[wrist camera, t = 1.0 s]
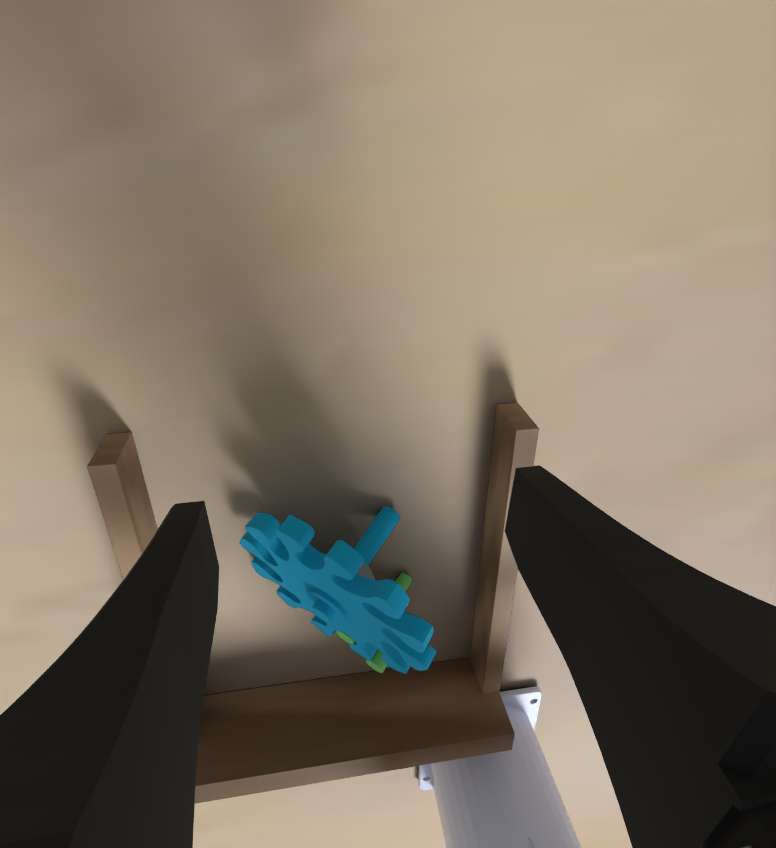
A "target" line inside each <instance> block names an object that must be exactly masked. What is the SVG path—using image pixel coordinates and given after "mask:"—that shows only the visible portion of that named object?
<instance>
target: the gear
mask: <svg viewBox="0 0 776 848" xmlns="http://www.w3.org/2000/svg"><path fill="white" fill-rule="evenodd" d="M399 520H400V516H399V515H398V513H397V512H396V511H395V510H393V509H392V508H390V507H383V508H382V509H381V511H380V512H379V513H378V515H377V516H376V518H375V519H374V520H373V522H372V523H371V525H370V526H369V527H368V529H367V530H366V532H365V533H364V534H363V536H362V537H361V539H360V540H359V541H358V543H357V544H356V546H355V547H354V548H352V547H351V546H350V545H348V544H347V543H346V542H344V541H343V540H337V541H336V543H335V544H334V545H333V547H332V548H331V549H330V551H329V552H328V553H327V554H324V553H321V552H319V551H317V550H316V549H315V548H314V547H312V546H311V544H310V543H309V542H310V541H311V540H312V539H313V537H314V536H315V531H314V529H313V528H312V527H311V526H310V525H309V524H307V523H305V522H304V521H302V520H300V519H298V518H296V517H294V516H292V515H289V516H288V517H287V518H286V520H285V521H284V522H283V523H282V524H281V525H280V523H279V522H278V520H277V519H276V518H275V517H273V516H272V515H270V514H267V513H262V512H257V514H256V515H255V516H254V517H253V518H252V519H251V520H250V522H249V523H248V524H247V525H246V526H245V528H246V530H247V531H248V532H247V533H246V534H245V535H244V537H243V538H242V539H241V540H240V544H241V546H242V547H244V548H245V549H246V550H247V551H248V552H250V553H252V554H253V555H255V556H256V557H255V558H254V559H253V561H252V566H253V568H254V569H255V571H256V572H257V573H258V574H260V575H261V576H263V577H264V578H266V579H269V580H272V581H274V582H276V583H277V584H279V585H281V586H280V587H279V589H278V590H277V591H276V592H277V593H278V595H279V596H280V597H281V598H282V599H283V600H284V601H285V602H286V603H287V604H288V605H289V606H291V607H293V608H297V607H300V608H303V609H306V610H308V611H310V612H312V613H314V614H315V616H314V618H313V619H312V621H311V622H312V623H313V624H314V625H315V626H316V627H317V628H318V629H319V630H321V631H322V632H323V633H324V634H326V635H327V636H329V637H332V636H333V634H334V633H335V631H336V633H337V635H338V636H339V637H340V638H342V639H343V640H344V641H346V642H348V643H349V647H350V648H351V649H352V650H353V651H354V652H356V653H357V654H359V655H361V656H362V657H364V658H366V660H365V661H366V663H367V664H368V665H369V666H370V667H371V668H372V669H374V670H375V671H377V672H379V673H383V672H384V670H385V668H386V667H387V666H389V667H390V668H392V669H394V670H397V671H399V672H402V673H405V674H406V673H407V671H408V669H409V668H410V666H411V667H412V668H414V669H416V670H420V671H423V670H427V669H428V667H429V666H430V664H431V662H432V660H433V658H434V656H435V654H436V651H435V650H434V649H433V648H432V647H431V646H430V645H429V644H428V642H429V641H430V639H431V637H432V635H433V633H434V630H433V626H432V625H431V624H430V623H429V622H427V621H426V620H424V619H422V618H420V617H417V616H414V615H411V614H409V613H407V612H405V611H404V610H405V609H406V607H407V605H408V604H409V602H410V599H409V597H408V595H407V594H406V590H407V588H408V587H409V585H410V584H411V582H412V578H411V577H410V576H409V575H407V574H405V573H400V575H399V577H398V578H397V580H396V581H393V580H390V579H383V580H376V579H375V577H374V575H373V573H372V572H371V570H370V568H369V566H368V565H369V564H370V562H371V561H372V559H373V558H374V556H375V555H376V553H377V552H378V551H379V549H380V548H381V546H382V545H383V543H384V542H385V540H386V539H387V537H388V536H389V534H390V533H391V531H392V530H393V528H394V527H395V526H396V524H397V523H398V521H399Z"/></svg>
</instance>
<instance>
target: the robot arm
mask: <svg viewBox="0 0 776 848" xmlns="http://www.w3.org/2000/svg"><path fill="white" fill-rule="evenodd" d="M505 534H506V536H507V539H508V542H509V545H510V548H511V551H512V554H513V556H514V559H515V562H516V564H517V567H518V569H519V571H520V573H521V575H522V577H523V579H524V581H525V583H526V585H527V587H528V589H529V591H530V593H531V595H532V597H533V599H534V601H535V603H536V605H537V606H538V608H539V610H540V612H541V614H542V616H543V618H544V620H545V622H546V624H547V626H548V627H549V629H550V631H551V633H552V635H553V637H554V639H555V641H556V643H557V645H558V647H559V649H560V651H561V653H562V655H563V657H564V659H565V661H566V663H567V665H568V668H569V670H570V672H571V675H572V677H573V680H574V682H575V685H576V687H577V690H578V692H579V695H580V697H581V700H582V702H583V705H584V707H585V710H586V713H587V715H588V718H589V721H590V723H591V726H592V729H593V732H594V734H595V737H596V740H597V742H598V745H599V748H600V750H601V753H602V756H603V759H604V762H605V765H606V768H607V771H608V773H609V776H610V779H611V782H612V785H613V788H614V791H615V794H616V797H617V800H618V803H619V806H620V809H621V812H622V815H623V819H624V822H625V825H626V828H627V831H628V834H629V838H630V841H631V844H632V847H633V848H776V606H773V605H771V604H769V603H766V602H764V601H762V600H759V599H757V598H755V597H752V596H750V595H748V594H746V593H744V592H742V591H740V590H737V589H735V588H733V587H731V586H729V585H727V584H725V583H723V582H720V581H718V580H716V579H714V578H712V577H710V576H708V575H706V574H704V573H702V572H700V571H699V570H697V569H695V568H693V567H691V566H689V565H688V564H686V563H684V562H682V561H680V560H679V559H677V558H675V557H673V556H671V555H669V554H668V553H666V552H664V551H663V550H661V549H659V548H658V547H656V546H654V545H653V544H651V543H650V542H648V541H646V540H645V539H643V538H642V537H640V536H639V535H637V534H635V533H634V532H632V531H631V530H629V529H628V528H626V527H625V526H623V525H622V524H620V523H619V522H617V521H616V520H614V519H613V518H612V517H610V516H609V515H607V514H606V513H604V512H603V511H602V510H600V509H599V508H597V507H596V506H595V505H593V504H592V503H591V502H589V501H588V500H586V499H585V498H584V497H582V496H581V495H580V494H578V493H577V492H576V491H574V490H573V489H572V488H570V487H569V486H568V485H566V484H565V483H563V482H562V481H561V480H559V479H558V478H557V477H555V476H554V475H553V474H551V473H550V472H548V471H547V470H546V469H544V468H543V467H541V466H531V467H521V468H516V469H515V475H514V481H513V486H512V492H511V498H510V503H509V509H508V515H507V520H506V526H505ZM218 582H219V564H218V560H217V555H216V551H215V547H214V542H213V538H212V533H211V529H210V524H209V520H208V516H207V511H206V507H205V502H204V501H199V502H189V503H180V504H175V505H174V506H173V507H172V508H171V509H170V511H169V512H168V514H167V516H166V517H165V519H164V521H163V522H162V524H161V525H160V527H159V529H158V530H157V532H156V533H155V535H154V536H153V538H152V539H151V541H150V543H149V544H148V546H147V547H146V549H145V550H144V552H143V553H142V554H141V556H140V557H139V559H138V560H137V562H136V563H135V564H134V566H133V567H132V569H131V570H130V572H129V573H128V574H127V576H126V577H125V579H124V580H123V581H122V583H121V584H120V585H119V587H118V588H117V589H116V591H115V592H114V593H113V594H112V596H111V597H110V598H109V599H108V601H107V602H106V603H105V605H104V606H103V607H102V608H101V610H100V611H99V612H98V613H97V615H96V616H95V617H94V618H93V620H92V621H91V622H90V623H89V624H88V626H87V627H86V628H85V629H84V630H83V631H82V633H81V634H80V635H79V636H78V637H77V638H76V639H75V641H74V642H73V643H72V644H71V645H70V646H69V647H68V648H67V649H66V650H65V651H64V653H63V654H62V655H61V656H60V657H59V658H58V659H57V660H56V661H55V662H54V663H53V664H52V665H51V666H50V667H49V668H48V669H47V670H46V671H45V672H44V673H43V674H42V675H41V676H40V677H39V678H38V679H37V680H36V681H35V682H34V683H33V684H32V685H31V686H30V687H29V689H28V690H27V691H25V692H24V693H23V694H22V695H21V696H20V697H19V698H18V699H17V700H16V701H15V702H14V703H13V704H12V705H11V706H10V707H9V708H8V709H7V710H5V711H4V712H3V713H2V714H1V715H0V848H192V845H193V822H194V803H195V784H196V767H197V752H198V736H199V725H200V717H201V709H202V702H203V696H204V690H205V684H206V678H207V671H208V665H209V659H210V653H211V647H212V641H213V634H214V628H215V622H216V615H217V606H218ZM500 695H501V698H502V700H503V703H504V706H505V709H506V711H507V714H508V717H509V719H510V722H511V725H512V727H513V730H514V733H515V735H514V741H513V746H512V750H508V751H502V752H497V753H491V754H485V755H479V756H473V757H467V758H461V759H455V760H449V761H443V762H437V763H432V764H426V765H420V766H419V781H418V783H419V788H420V789H421V790H430V789H434V792H435V796H436V801H437V806H438V810H439V815H440V819H441V824H442V829H443V833H444V838H445V842H446V847H447V848H581V846H580V843H579V841H578V838H577V836H576V833H575V831H574V828H573V826H572V823H571V821H570V818H569V816H568V814H567V811H566V809H565V806H564V804H563V801H562V799H561V796H560V794H559V791H558V789H557V786H556V784H555V781H554V779H553V777H552V774H551V772H550V769H549V767H548V764H547V762H546V759H545V757H544V754H543V752H542V749H541V747H540V745H539V742H538V740H537V737H536V735H535V732H534V729H535V725H536V720H537V715H538V710H539V706H540V701H541V696H542V693H541V690H540V689H539V688H538V687H528V688H522V689H515V690H509V691H502V692H500Z"/></svg>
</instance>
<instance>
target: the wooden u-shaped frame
mask: <svg viewBox="0 0 776 848" xmlns="http://www.w3.org/2000/svg"><path fill="white" fill-rule="evenodd" d="M538 432H539V428H538V427H537V425H536V424H535V423H534V422H533V421H532V419H531V418H530V417H529V416H528V415H527V413H526V412H525V411H524V410H523V409H522V407H521V406H520V405H519V404H518V403H504V404H497V407H496V416H495V426H494V435H493V445H492V454H491V464H490V473H489V483H488V492H487V502H486V511H485V521H484V530H483V540H482V549H481V559H480V568H479V578H478V587H477V597H476V606H475V616H474V625H473V635H472V644H471V654H470V658H463V659H456V660H449V661H442V662H435V663H431V664H430V666H429V667H428V669H427V670H423V671H420V670H416V669H414V668H412V667H411V666H410V668H409V669H408V671H407V673H406V674H405V673H402V672H399V671H397V670H394V669H386V670H384V672H383V673H379V672H377V671H372V672H365V673H358V674H351V675H344V676H337V677H330V678H323V679H316V680H309V681H302V682H295V683H288V684H281V685H274V686H267V687H260V688H253V689H246V690H239V691H232V692H225V693H218V694H211V695H204V696H203V702H202V709H201V717H200V725H199V736H198V752H197V767H196V784H195V803H201V802H207V801H213V800H219V799H225V798H230V797H236V796H242V795H248V794H254V793H260V792H266V791H272V790H278V789H284V788H290V787H296V786H301V785H307V784H313V783H319V782H325V781H331V780H337V779H343V778H349V777H355V776H361V775H366V774H372V773H378V772H384V771H390V770H396V769H402V768H408V767H414V766H420V765H426V764H432V763H437V762H443V761H449V760H455V759H461V758H467V757H473V756H479V755H485V754H491V753H497V752H502V751H508V750H512V746H513V741H514V735H515V733H514V730H513V727H512V725H511V722H510V719H509V717H508V714H507V711H506V709H505V706H504V703H503V700H502V698H501V695H500V692H499V690H500V684H501V677H502V670H503V664H504V657H505V650H506V644H507V637H508V631H509V624H510V617H511V611H512V604H513V597H514V591H515V584H516V578H517V571H518V567H517V564H516V562H515V559H514V556H513V554H512V551H511V548H510V545H509V542H508V539H507V536H506V534H505V526H506V520H507V515H508V509H509V503H510V498H511V492H512V486H513V481H514V475H515V469H516V468H521V467H531V466H533V465H534V459H535V452H536V445H537V439H538ZM87 468H88V471H89V474H90V477H91V480H92V483H93V486H94V489H95V492H96V496H97V499H98V502H99V505H100V508H101V511H102V514H103V517H104V520H105V523H106V526H107V530H108V533H109V536H110V539H111V542H112V545H113V548H114V551H115V554H116V557H117V560H118V564H119V567H120V570H121V573H122V576H123V579H125V577H126V576H127V574H128V573H129V572H130V570H131V569H132V567H133V566H134V564H135V563H136V562H137V560H138V559H139V557H140V556H141V554H142V553H143V552H144V550H145V549H146V547H147V546H148V544H149V543H150V541H151V539H152V538H153V536H154V535H155V533H156V532H157V530H158V529H157V525H156V522H155V518H154V514H153V510H152V507H151V503H150V499H149V495H148V492H147V488H146V484H145V480H144V477H143V473H142V469H141V465H140V462H139V458H138V454H137V450H136V447H135V443H134V439H133V435H132V432H127V433H114V434H106V436H105V437H104V439H103V441H102V442H101V444H100V446H99V448H98V449H97V451H96V453H95V454H94V456H93V458H92V459H91V461H90V463H89V464H88V466H87ZM195 803H194V804H195Z"/></svg>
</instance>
